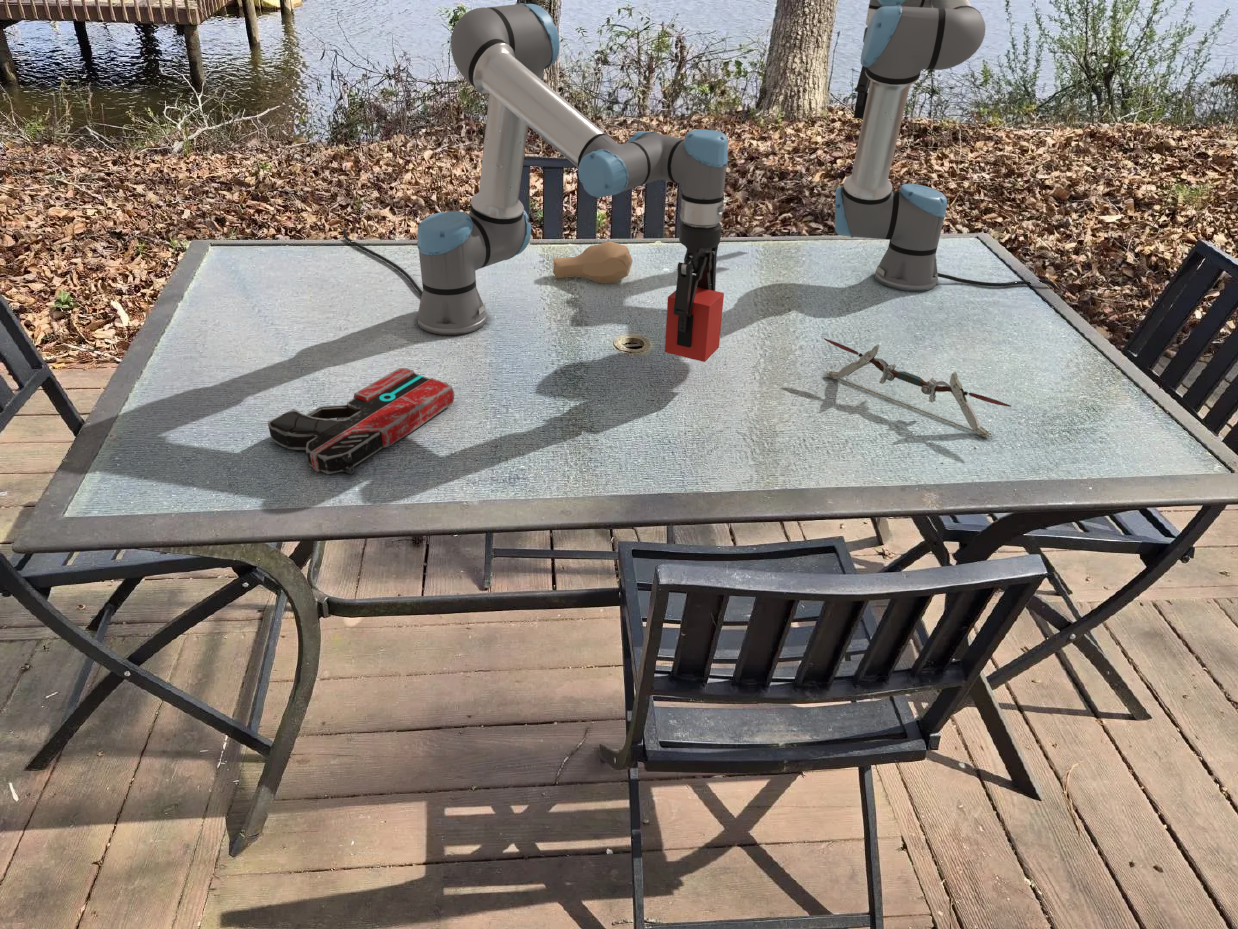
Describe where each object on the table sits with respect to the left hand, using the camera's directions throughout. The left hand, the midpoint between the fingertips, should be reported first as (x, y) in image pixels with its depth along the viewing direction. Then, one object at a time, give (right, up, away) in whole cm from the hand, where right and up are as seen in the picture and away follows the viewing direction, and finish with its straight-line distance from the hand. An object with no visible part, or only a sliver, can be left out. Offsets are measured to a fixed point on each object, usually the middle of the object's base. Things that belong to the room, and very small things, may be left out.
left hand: (692, 337), depth 171 cm
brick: (0, -2, +1) cm, 3 cm away
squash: (-21, +22, +49) cm, 58 cm away
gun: (-60, -18, -12) cm, 64 cm away
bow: (+41, -13, -1) cm, 43 cm away
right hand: (+53, +71, +68) cm, 112 cm away
